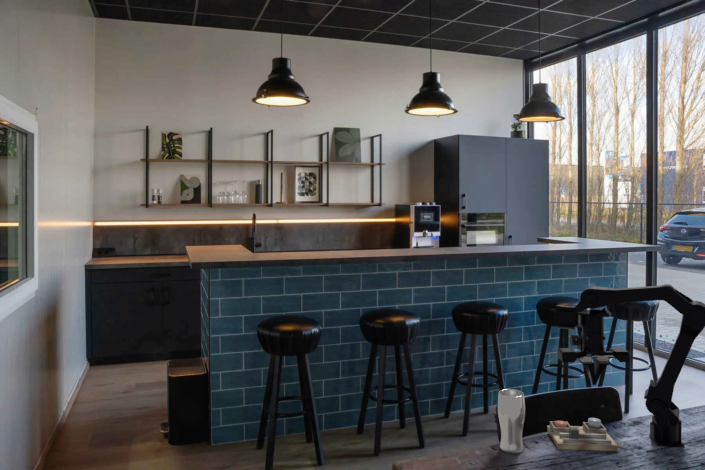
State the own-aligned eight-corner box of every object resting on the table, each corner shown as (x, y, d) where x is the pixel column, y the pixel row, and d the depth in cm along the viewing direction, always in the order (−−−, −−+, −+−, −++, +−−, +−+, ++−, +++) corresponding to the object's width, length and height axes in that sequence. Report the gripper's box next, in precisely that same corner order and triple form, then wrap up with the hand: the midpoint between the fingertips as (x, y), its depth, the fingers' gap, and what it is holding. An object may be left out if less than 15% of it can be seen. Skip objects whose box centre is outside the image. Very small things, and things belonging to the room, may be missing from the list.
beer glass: (528, 454, 139) (528, 397, 138) (501, 454, 139) (501, 397, 139) (520, 442, 146) (520, 388, 145) (495, 442, 146) (494, 388, 146)
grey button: (598, 423, 150) (598, 417, 150) (602, 428, 147) (602, 422, 147) (586, 423, 151) (586, 417, 151) (590, 427, 147) (590, 422, 147)
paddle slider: (576, 437, 144) (576, 427, 144) (578, 440, 142) (578, 430, 142) (569, 437, 144) (568, 427, 144) (571, 440, 143) (571, 430, 142)
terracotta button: (565, 426, 151) (565, 420, 151) (568, 430, 148) (568, 425, 148) (553, 426, 152) (553, 420, 152) (556, 430, 149) (556, 424, 149)
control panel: (602, 432, 152) (602, 421, 151) (617, 451, 140) (617, 439, 140) (547, 430, 153) (547, 420, 153) (558, 449, 142) (557, 437, 141)
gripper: (616, 324, 160) (616, 376, 161) (551, 325, 162) (552, 376, 163) (631, 332, 149) (632, 388, 150) (562, 333, 151) (563, 388, 152)
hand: (593, 384), depth 154 cm, fingers closed
